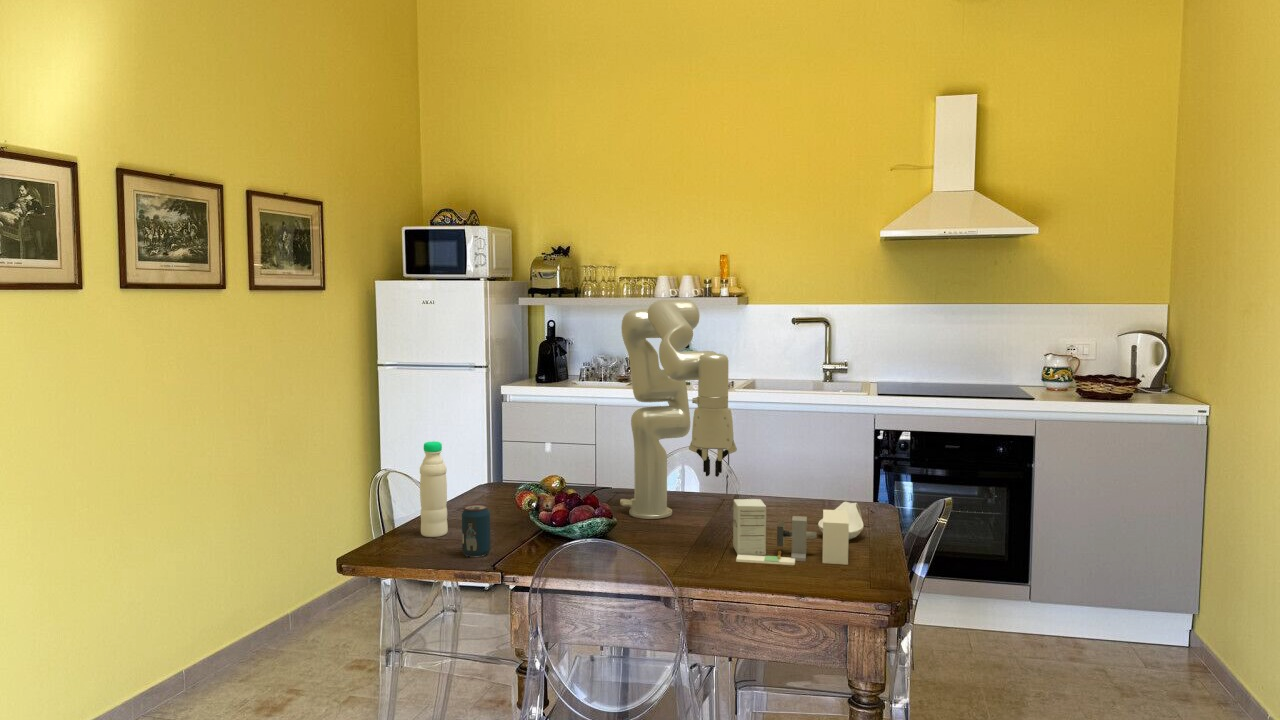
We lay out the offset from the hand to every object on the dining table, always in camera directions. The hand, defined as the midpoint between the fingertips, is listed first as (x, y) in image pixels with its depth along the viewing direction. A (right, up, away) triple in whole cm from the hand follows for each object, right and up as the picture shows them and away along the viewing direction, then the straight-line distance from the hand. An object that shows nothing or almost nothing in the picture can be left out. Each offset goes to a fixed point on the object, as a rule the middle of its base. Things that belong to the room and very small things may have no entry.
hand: (712, 474), depth 230 cm
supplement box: (+9, -19, 0) cm, 21 cm away
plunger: (+20, -18, -5) cm, 28 cm away
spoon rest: (+37, -18, +18) cm, 45 cm away
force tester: (+20, -19, -4) cm, 28 cm away
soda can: (-59, -20, -3) cm, 62 cm away
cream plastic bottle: (-74, -18, +15) cm, 77 cm away
